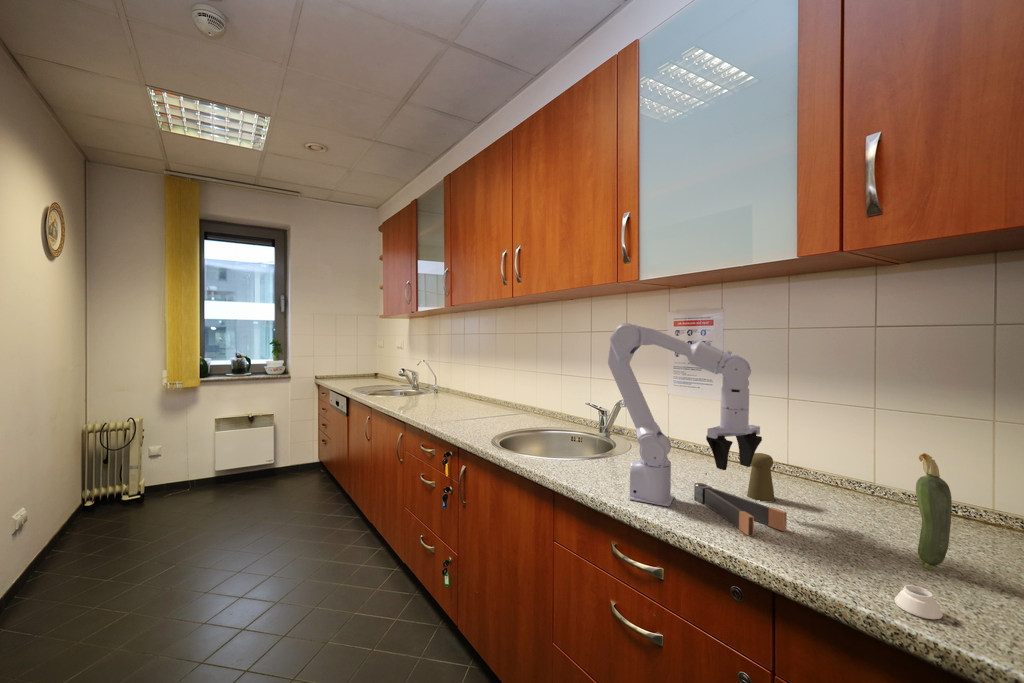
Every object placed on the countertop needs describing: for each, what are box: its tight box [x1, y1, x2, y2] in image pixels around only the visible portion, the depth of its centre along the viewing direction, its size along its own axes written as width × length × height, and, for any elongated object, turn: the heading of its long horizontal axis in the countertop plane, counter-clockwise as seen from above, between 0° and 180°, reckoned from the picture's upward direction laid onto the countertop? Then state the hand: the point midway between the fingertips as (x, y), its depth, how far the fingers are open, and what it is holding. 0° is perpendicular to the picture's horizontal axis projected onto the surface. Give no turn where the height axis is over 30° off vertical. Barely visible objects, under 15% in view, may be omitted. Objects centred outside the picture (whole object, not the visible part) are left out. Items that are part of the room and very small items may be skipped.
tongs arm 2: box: [711, 487, 788, 532], centre depth 97 cm, size 17×1×4 cm, turn 28°
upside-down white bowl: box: [894, 584, 943, 620], centre depth 63 cm, size 5×3×5 cm
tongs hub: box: [693, 482, 713, 505], centre depth 106 cm, size 4×3×4 cm
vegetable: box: [915, 452, 953, 570], centre depth 74 cm, size 4×4×20 cm
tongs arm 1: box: [704, 489, 755, 536], centre depth 95 cm, size 17×1×4 cm, turn 4°
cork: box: [746, 452, 775, 502], centre depth 109 cm, size 6×6×11 cm
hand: (733, 467), depth 99 cm, fingers open, 7 cm apart
